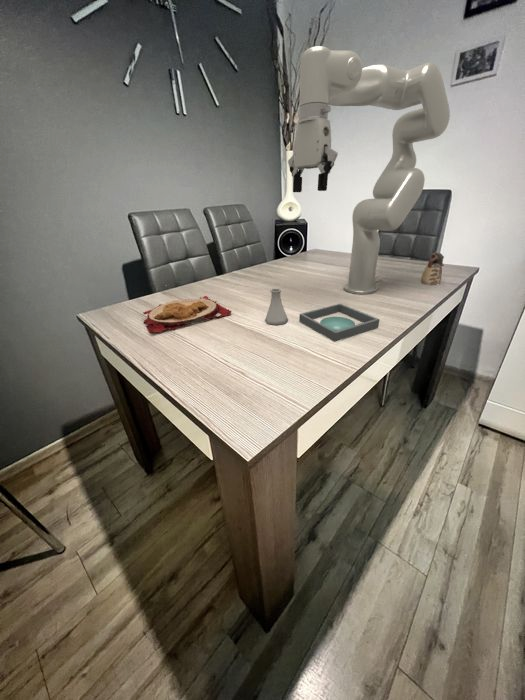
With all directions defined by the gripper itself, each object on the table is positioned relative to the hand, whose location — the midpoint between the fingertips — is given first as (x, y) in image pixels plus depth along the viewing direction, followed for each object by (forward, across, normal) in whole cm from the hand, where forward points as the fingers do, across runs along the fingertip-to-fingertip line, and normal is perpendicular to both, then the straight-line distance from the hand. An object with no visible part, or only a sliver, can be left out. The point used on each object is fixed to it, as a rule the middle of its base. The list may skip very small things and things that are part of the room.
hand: (309, 191), depth 80 cm
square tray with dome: (+35, -19, +5) cm, 40 cm away
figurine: (+33, -19, -55) cm, 67 cm away
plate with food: (+37, +24, +35) cm, 56 cm away
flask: (+35, -4, +16) cm, 39 cm away
